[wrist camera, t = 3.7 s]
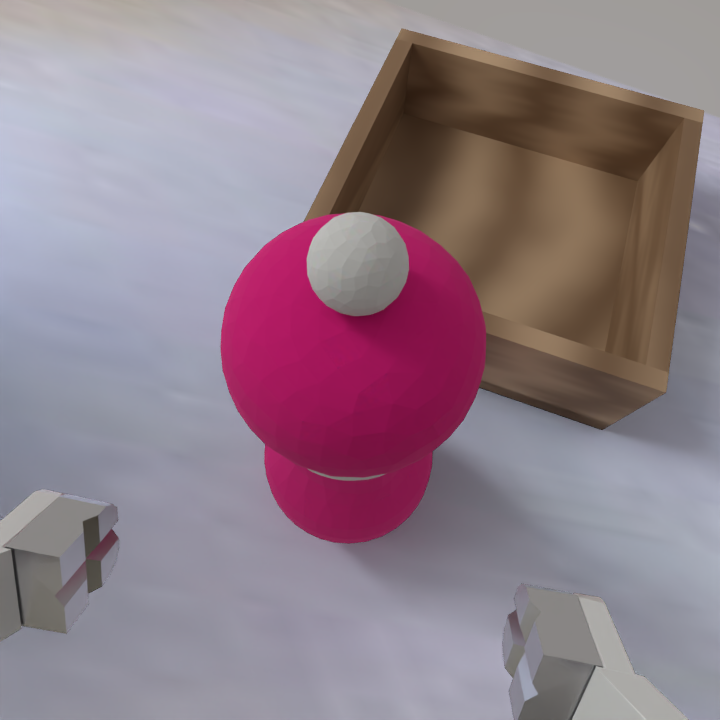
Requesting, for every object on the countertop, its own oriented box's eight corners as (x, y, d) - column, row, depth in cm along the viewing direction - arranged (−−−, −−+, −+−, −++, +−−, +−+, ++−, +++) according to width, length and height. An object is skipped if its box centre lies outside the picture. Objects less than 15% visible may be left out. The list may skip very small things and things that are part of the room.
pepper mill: (391, 572, 25) (530, 547, 6) (253, 516, 26) (25, 353, 7) (435, 434, 28) (622, 139, 9) (309, 388, 28) (248, 32, 10)
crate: (293, 323, 30) (281, 264, 24) (392, 111, 37) (401, 28, 31) (602, 429, 28) (666, 392, 22) (646, 185, 35) (704, 110, 29)
